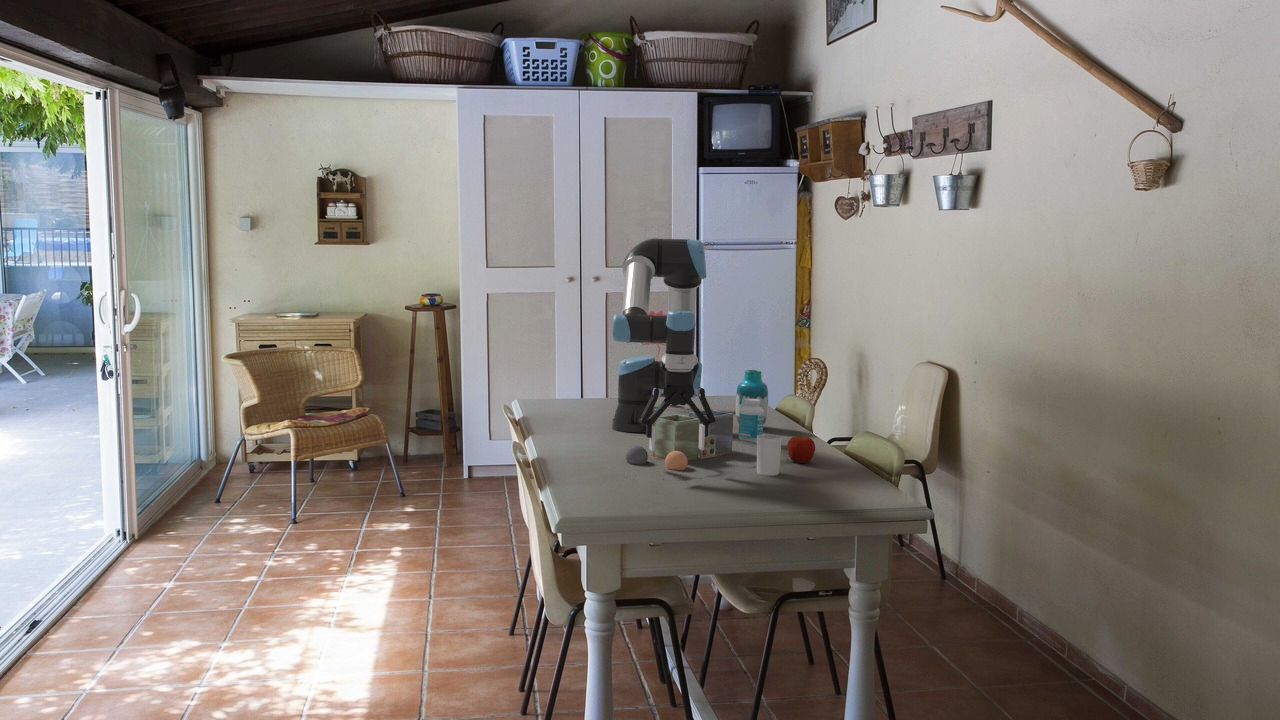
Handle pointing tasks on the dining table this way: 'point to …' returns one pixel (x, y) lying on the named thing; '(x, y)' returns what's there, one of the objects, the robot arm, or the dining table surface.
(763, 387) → the vase
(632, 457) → the loose charcoal ball
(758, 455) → the drinking glass
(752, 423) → the pill bottle
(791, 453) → the apple
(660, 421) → the rack
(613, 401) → the dining table surface
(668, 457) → the loose terracotta ball
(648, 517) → the dining table surface
